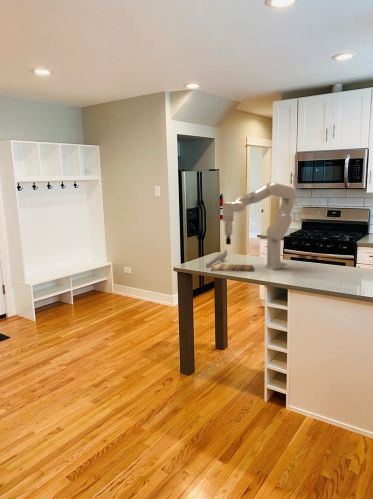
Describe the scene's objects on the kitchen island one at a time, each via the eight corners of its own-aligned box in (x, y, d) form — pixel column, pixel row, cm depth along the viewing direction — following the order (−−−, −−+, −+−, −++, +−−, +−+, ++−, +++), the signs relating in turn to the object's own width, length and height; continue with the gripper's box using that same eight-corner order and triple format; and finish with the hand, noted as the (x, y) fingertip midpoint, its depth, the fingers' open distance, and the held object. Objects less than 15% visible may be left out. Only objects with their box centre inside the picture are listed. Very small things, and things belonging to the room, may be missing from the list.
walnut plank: (253, 267, 279) (253, 265, 279) (252, 271, 269) (252, 268, 268) (235, 267, 282) (235, 264, 281) (234, 270, 271) (234, 268, 271)
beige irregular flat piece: (233, 267, 282) (233, 264, 282) (232, 270, 271) (232, 268, 271) (213, 266, 285) (213, 264, 285) (211, 270, 274) (211, 267, 274)
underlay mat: (254, 268, 280) (254, 267, 280) (254, 272, 267) (254, 271, 267) (213, 266, 286) (213, 266, 286) (210, 271, 274) (210, 270, 274)
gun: (227, 258, 307) (226, 250, 305) (208, 273, 285) (207, 263, 282) (225, 258, 308) (224, 249, 306) (206, 272, 286) (205, 263, 283)
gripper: (232, 220, 263) (232, 246, 266) (234, 217, 277) (234, 242, 280) (221, 220, 264) (222, 246, 268) (224, 217, 278) (224, 242, 282)
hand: (228, 244), depth 274 cm, fingers closed
